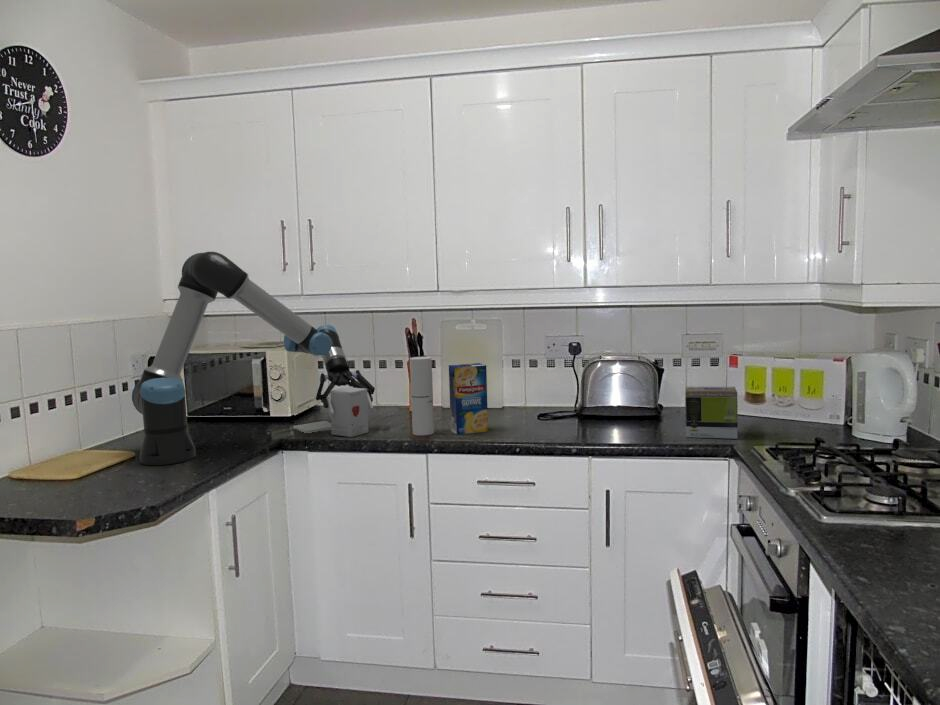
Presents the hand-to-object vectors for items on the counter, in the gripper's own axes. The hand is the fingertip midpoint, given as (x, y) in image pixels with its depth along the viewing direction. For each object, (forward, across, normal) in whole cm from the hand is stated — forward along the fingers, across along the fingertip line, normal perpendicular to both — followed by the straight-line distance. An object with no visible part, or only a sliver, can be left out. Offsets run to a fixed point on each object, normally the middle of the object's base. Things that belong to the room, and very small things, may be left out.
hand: (352, 412), depth 225 cm
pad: (-7, +8, -17) cm, 20 cm away
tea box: (+53, -93, +42) cm, 115 cm away
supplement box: (+4, 0, -7) cm, 8 cm away
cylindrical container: (+14, -20, +3) cm, 25 cm away
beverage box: (+18, -34, +7) cm, 39 cm away
